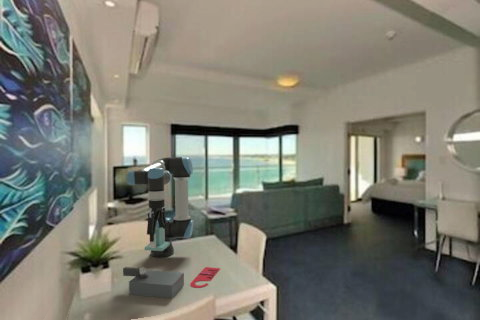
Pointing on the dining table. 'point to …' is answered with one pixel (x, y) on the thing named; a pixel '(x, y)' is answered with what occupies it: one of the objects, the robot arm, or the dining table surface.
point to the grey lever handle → (134, 272)
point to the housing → (157, 284)
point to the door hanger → (204, 276)
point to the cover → (158, 241)
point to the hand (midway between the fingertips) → (157, 244)
